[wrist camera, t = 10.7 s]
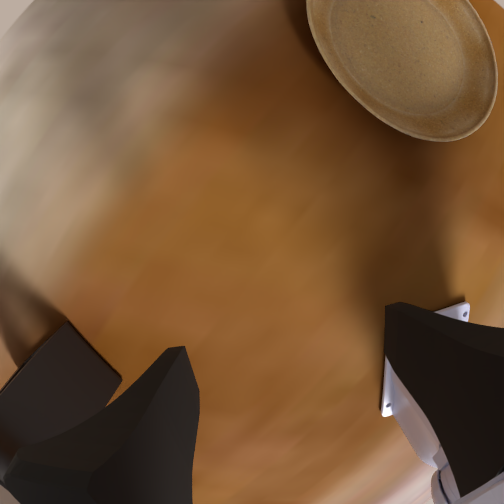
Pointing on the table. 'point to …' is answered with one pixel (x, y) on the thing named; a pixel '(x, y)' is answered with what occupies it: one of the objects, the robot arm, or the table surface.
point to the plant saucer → (410, 62)
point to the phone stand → (52, 393)
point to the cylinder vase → (6, 497)
